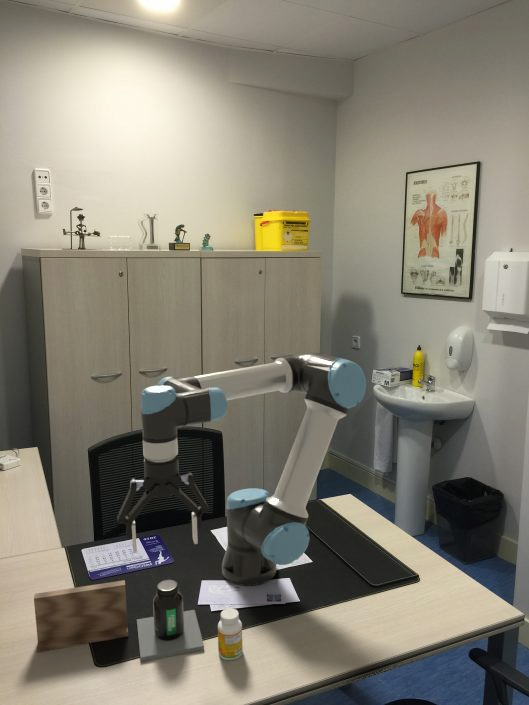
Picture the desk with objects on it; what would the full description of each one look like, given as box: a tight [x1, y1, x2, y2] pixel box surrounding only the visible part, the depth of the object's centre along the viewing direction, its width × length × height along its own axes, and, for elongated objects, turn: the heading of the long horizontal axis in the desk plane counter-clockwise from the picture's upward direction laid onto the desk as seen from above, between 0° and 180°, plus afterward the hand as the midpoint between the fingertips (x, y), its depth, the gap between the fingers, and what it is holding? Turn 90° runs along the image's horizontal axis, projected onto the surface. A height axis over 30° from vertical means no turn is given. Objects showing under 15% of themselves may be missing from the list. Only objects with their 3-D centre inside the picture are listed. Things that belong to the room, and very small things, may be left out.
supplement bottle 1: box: [152, 579, 184, 641], centre depth 140 cm, size 7×7×12 cm
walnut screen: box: [33, 579, 129, 653], centre depth 140 cm, size 20×6×12 cm, turn 105°
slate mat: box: [136, 609, 205, 662], centre depth 141 cm, size 14×14×1 cm
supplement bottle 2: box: [217, 607, 244, 661], centre depth 134 cm, size 5×5×10 cm
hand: (165, 545), depth 137 cm, fingers open, 13 cm apart
